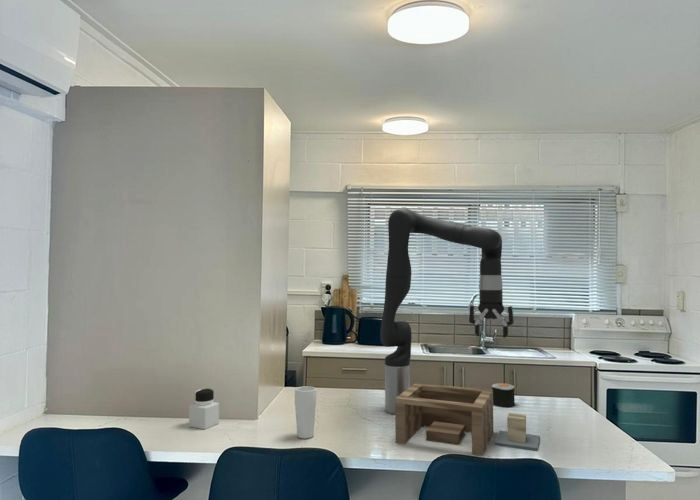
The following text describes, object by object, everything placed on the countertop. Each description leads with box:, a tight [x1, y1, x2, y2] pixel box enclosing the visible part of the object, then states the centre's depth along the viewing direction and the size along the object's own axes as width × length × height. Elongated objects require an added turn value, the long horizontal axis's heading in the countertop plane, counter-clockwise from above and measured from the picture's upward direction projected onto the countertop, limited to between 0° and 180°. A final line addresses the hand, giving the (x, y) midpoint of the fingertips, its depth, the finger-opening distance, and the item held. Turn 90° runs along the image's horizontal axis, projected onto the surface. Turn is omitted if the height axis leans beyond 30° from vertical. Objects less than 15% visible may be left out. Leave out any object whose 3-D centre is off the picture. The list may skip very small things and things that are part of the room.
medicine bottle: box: [188, 388, 220, 430], centre depth 168 cm, size 7×7×12 cm
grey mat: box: [494, 430, 540, 452], centre depth 152 cm, size 12×12×1 cm
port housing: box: [394, 382, 494, 457], centre depth 156 cm, size 22×26×14 cm
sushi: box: [491, 382, 516, 409], centre depth 193 cm, size 8×8×8 cm
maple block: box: [506, 412, 527, 443], centre depth 152 cm, size 5×5×7 cm
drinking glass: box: [294, 385, 317, 440], centre depth 157 cm, size 7×7×15 cm
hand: (491, 336), depth 167 cm, fingers open, 8 cm apart
